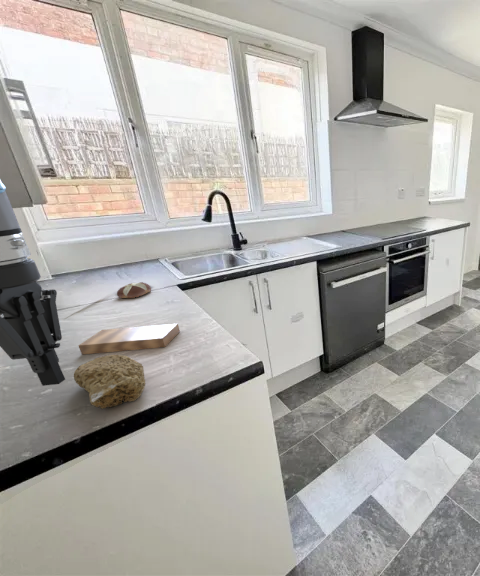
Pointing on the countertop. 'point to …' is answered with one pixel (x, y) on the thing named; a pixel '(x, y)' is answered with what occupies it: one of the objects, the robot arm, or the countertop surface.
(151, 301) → the countertop surface
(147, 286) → the bread
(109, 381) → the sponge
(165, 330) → the wooden board
